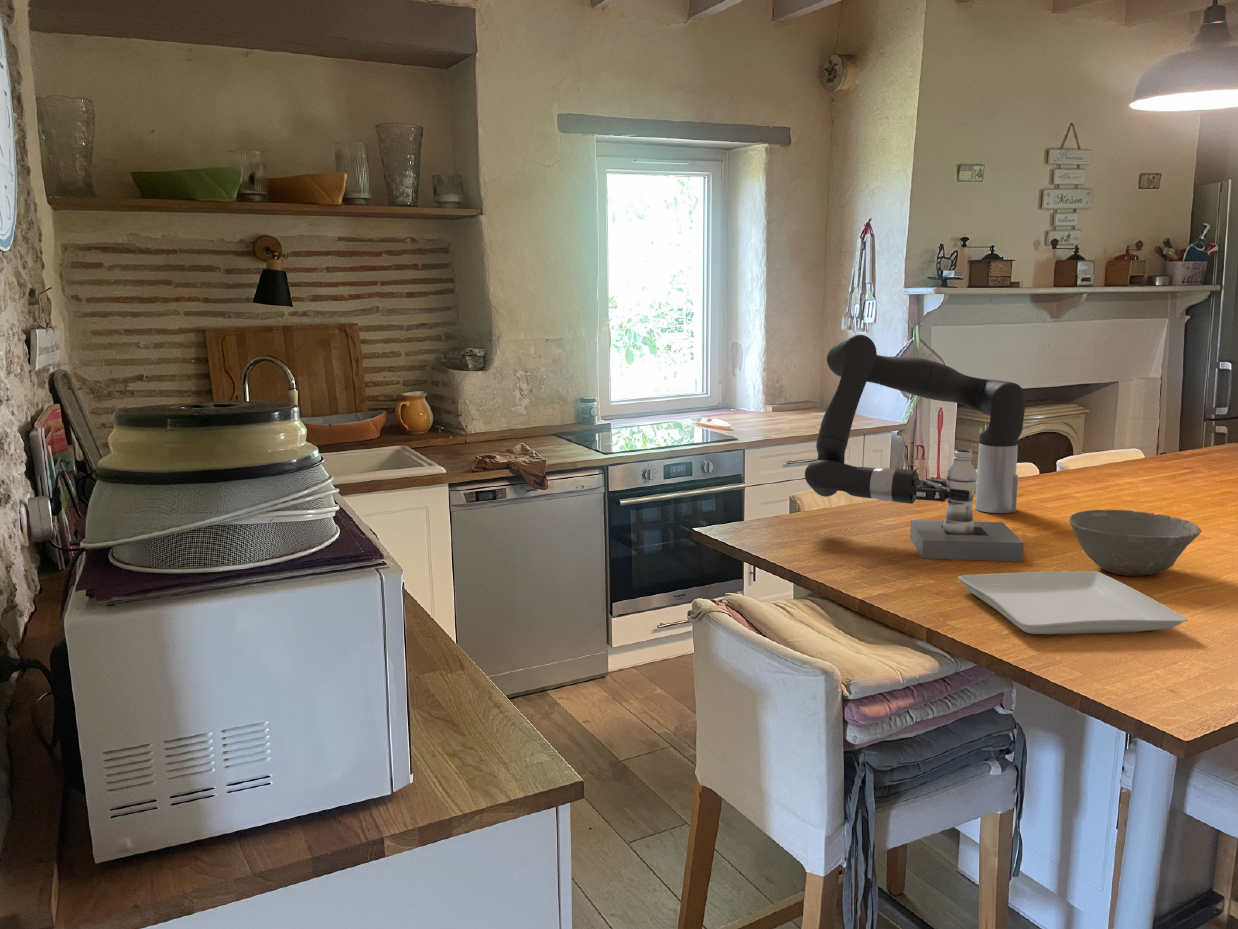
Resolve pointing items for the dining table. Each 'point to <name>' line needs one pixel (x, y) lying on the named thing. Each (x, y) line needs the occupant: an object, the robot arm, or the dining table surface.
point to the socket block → (966, 542)
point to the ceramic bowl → (1132, 540)
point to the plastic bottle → (958, 510)
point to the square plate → (1070, 602)
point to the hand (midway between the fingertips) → (972, 492)
